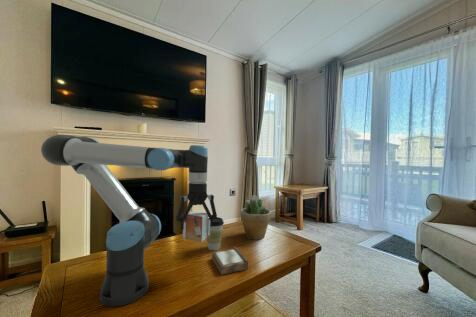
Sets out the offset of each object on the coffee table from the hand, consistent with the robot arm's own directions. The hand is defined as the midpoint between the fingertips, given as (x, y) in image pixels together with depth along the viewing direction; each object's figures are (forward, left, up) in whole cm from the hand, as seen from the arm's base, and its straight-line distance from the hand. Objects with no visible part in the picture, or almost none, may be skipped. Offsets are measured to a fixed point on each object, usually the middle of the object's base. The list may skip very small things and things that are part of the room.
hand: (196, 235), depth 87 cm
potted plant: (+41, +26, -15) cm, 51 cm away
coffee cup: (+13, +19, -15) cm, 28 cm away
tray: (+15, +1, -15) cm, 22 cm away
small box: (0, 0, -1) cm, 1 cm away
